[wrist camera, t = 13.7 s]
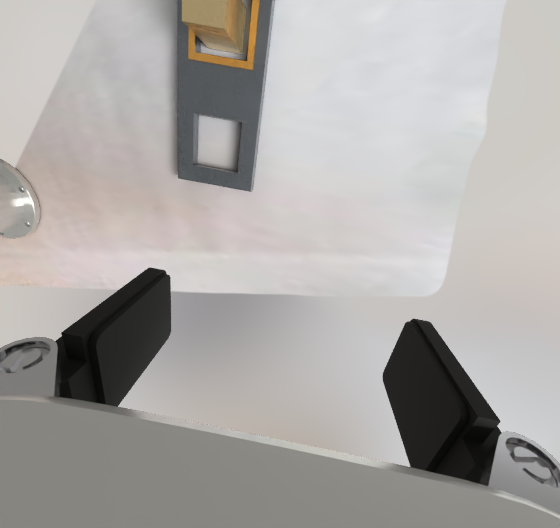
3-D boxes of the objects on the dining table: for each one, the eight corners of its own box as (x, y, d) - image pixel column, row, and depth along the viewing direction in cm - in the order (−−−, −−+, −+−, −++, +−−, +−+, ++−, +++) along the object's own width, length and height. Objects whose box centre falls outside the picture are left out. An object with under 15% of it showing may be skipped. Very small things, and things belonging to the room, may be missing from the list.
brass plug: (242, 54, 30) (224, 28, 24) (208, 48, 30) (181, 21, 24) (246, 9, 28) (228, -32, 22) (210, 2, 29) (182, -40, 22)
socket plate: (252, 190, 36) (250, 191, 35) (182, 177, 36) (177, 178, 35) (277, -25, 27) (275, -35, 26) (184, -40, 27) (176, -51, 26)
